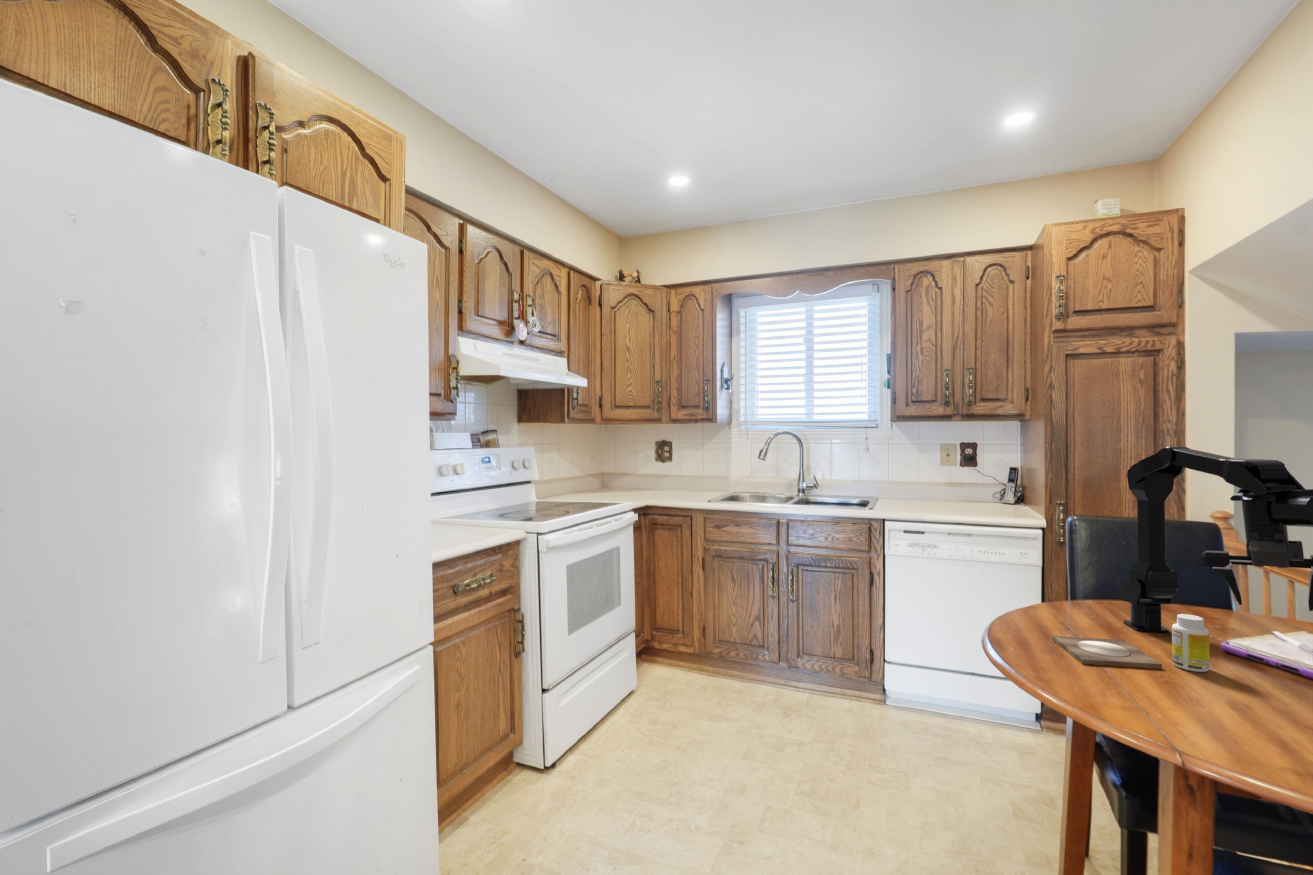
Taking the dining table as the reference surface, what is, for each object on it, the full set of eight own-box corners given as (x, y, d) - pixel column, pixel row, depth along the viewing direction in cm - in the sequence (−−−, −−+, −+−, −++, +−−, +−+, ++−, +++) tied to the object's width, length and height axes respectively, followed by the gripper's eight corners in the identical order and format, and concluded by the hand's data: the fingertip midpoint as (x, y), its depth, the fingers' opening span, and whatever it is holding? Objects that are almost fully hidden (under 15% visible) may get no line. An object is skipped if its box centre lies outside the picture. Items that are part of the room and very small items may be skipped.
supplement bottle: (1215, 669, 116) (1214, 618, 116) (1201, 675, 114) (1201, 622, 114) (1180, 660, 121) (1179, 611, 121) (1166, 665, 119) (1166, 615, 119)
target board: (1052, 640, 134) (1052, 634, 134) (1123, 643, 131) (1123, 638, 131) (1082, 663, 120) (1082, 658, 120) (1161, 669, 117) (1161, 663, 117)
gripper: (1196, 525, 114) (1205, 607, 112) (1344, 528, 100) (1356, 621, 99) (1200, 522, 121) (1208, 599, 120) (1337, 525, 108) (1348, 611, 107)
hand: (1274, 607), depth 111 cm, fingers open, 9 cm apart
